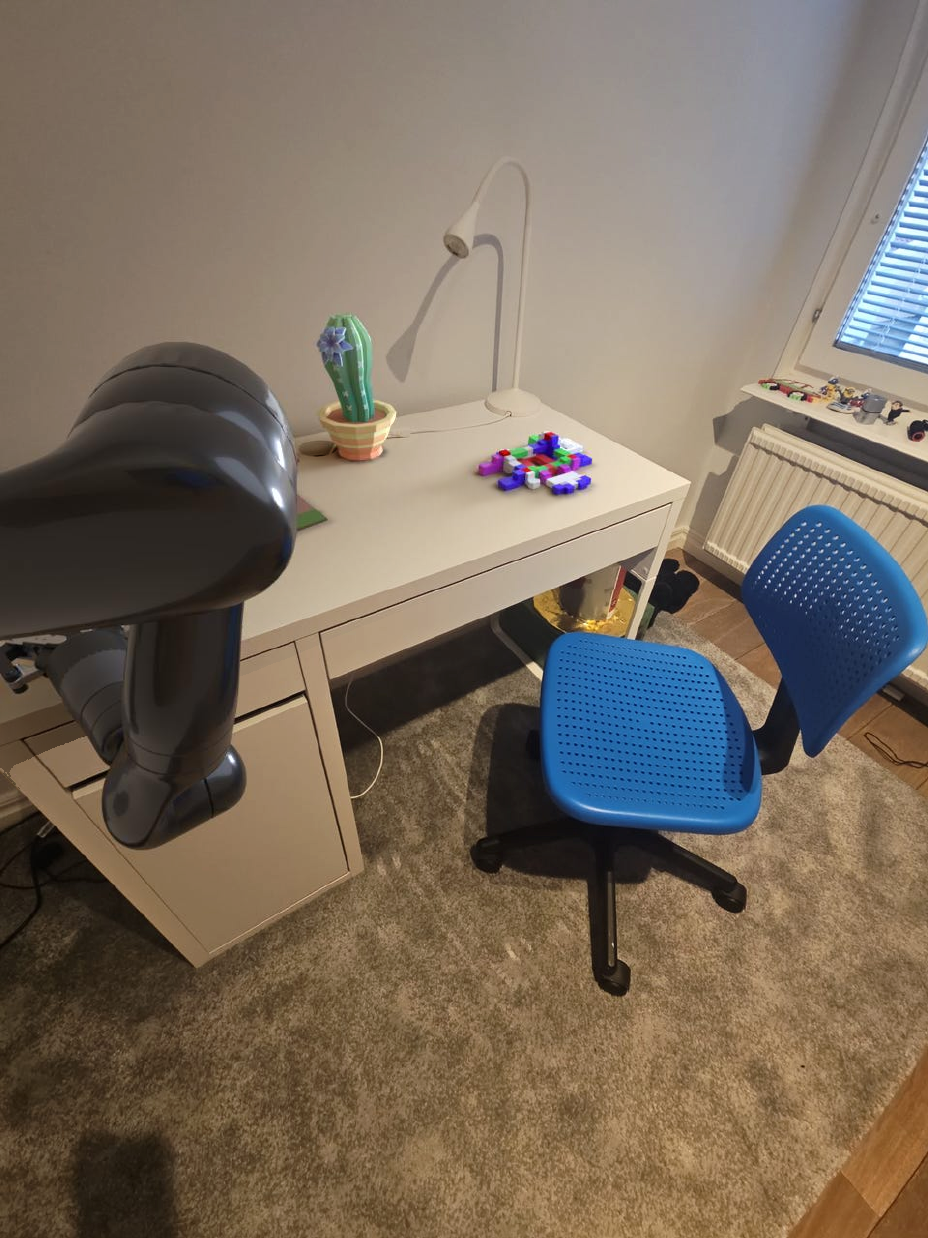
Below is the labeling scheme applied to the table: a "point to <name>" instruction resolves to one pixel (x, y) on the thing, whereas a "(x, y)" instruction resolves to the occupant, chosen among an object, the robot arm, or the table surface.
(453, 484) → the table surface
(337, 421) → the potted cactus
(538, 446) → the building block set
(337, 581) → the table surface
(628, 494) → the table surface
